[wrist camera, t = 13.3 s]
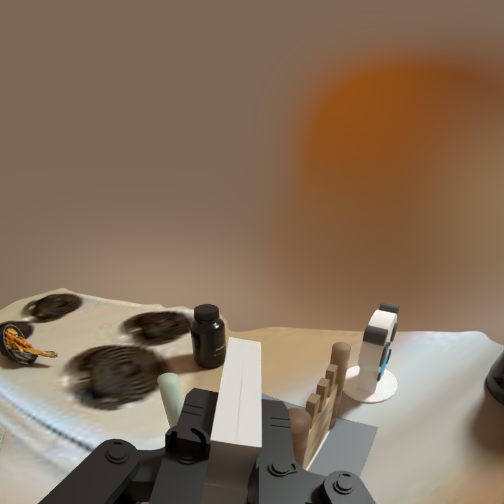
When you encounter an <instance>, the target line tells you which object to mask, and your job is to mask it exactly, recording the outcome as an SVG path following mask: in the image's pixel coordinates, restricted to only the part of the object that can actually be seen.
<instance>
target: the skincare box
mask: <svg viewBox="0 0 504 504" xmlns="http://www.w3.org/2000/svg"><path fill="white" fill-rule="evenodd" d="M4 434H5V431H4V429H3V428H2V426H1V425H0V449H1V445H2V441H3V438H4Z"/></svg>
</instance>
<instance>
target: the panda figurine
mask: <svg viewBox="0 0 504 504" xmlns="http://www.w3.org/2000/svg"><path fill="white" fill-rule="evenodd" d="M398 311H399V306H397V305H392V304H387V303H381V304H380V308H379V310H376V311H375V313H374V315H373V316H372V318H371V320H370V322H369V325H367V327H366V329H365V332H364V336H363V343H362V346H361V350H360V354H359V360H358V366H355V367H352V368H350V369H348V370H347V372H346V377H345V382H344V387H343V391H344V392H345V394H347V395H348V396H349V397H351V398H352V399H354V400H357V401H360V402H364V403H379V402H383V401H386V400H388V399H389V398H391V397H392V396H393V395H394V394H395V392H396V390H397V386H398V384H397V380H396V378H395V377H394V375H393V374H392V373H390V372H389V371H388V370H386V369H385V366H386V364H387V363H388V360H389V357H390V354H391V349H390V346H391V343H392V342H393V340H394V337H395V333H396V329H397V323H396V320H397V315H398Z"/></svg>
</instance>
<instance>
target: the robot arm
mask: <svg viewBox="0 0 504 504" xmlns="http://www.w3.org/2000/svg"><path fill="white" fill-rule="evenodd" d="M487 386H488V389H489V391H490V392H491V394H492V395H493V396H494V397H495V398H496V399H497V400H498V401H500V402H501V403H503V404H504V351H503V352H502V354H501V355H500V356H499V358H498V359H497V360H496V361H495V363H494V364H493V365H492V367H491V369H490V371H489V374H488V376H487ZM290 428H291V425H290V417H289V410H288V408H287V407H286V405H285V404H284V402H283V401H276V400H268V399H261V342H255V341H249V340H243V339H237V338H232V337H229V342H228V347H227V352H226V358H225V363H224V368H223V374H222V379H221V384H220V390H219V393H218V392H213V391H208V390H203V389H198V388H193V389H192V390H191V391H190V392H189V393H188V394H187V395H186V398H185V401H184V404H183V407H182V410H181V413H180V416H179V419H178V422H177V425H175V426H174V427H172V428H170V429H169V430H168V431H167V433H166V434H165V447H163V448H161V449H157V450H137V449H136V448H135V446H133V445H132V444H131V443H129V442H127V441H124V440H122V439H110V440H106V441H104V442H103V443H101V444H100V445H99V446H98V447H97V448H96V449H95V450H94V451H93V452H92V453H91V454H90V455H89V456H87V457H86V458H85V459H84V460H83V461H82V462H81V463H80V464H79V465H78V466H77V467H76V468H75V469H74V470H73V471H72V472H71V473H70V474H69V475H68V476H67V477H66V478H65V479H64V480H63V481H62V482H60V483H59V484H58V485H57V486H56V487H55V488H54V489H53V490H52V491H51V492H50V493H49V494H48V495H47V496H46V497H44V498H43V499H42V500H41V501H40V502H39V503H38V504H141V503H142V502H149V504H201V501H202V495H203V489H204V484H205V485H211V486H217V487H223V488H231V489H239V490H246V489H247V486H248V494H247V498H246V500H245V502H244V504H376V503H375V501H374V500H373V498H372V497H371V495H370V493H369V492H368V490H367V489H366V487H365V485H364V484H363V482H362V480H361V479H360V478H359V477H358V476H357V475H355V474H353V473H351V472H348V471H344V470H343V471H335V472H332V473H330V474H329V475H328V476H323V475H319V474H315V473H312V472H309V471H307V470H305V469H303V468H302V467H301V466H300V465H299V463H298V462H297V461H296V460H295V457H294V451H293V442H292V434H291V429H290Z"/></svg>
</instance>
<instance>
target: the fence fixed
mask: <svg viewBox="0 0 504 504" xmlns="http://www.w3.org/2000/svg"><path fill="white" fill-rule="evenodd" d="M350 350H351V346H350V345H349V344H347V343H344V342H337V343H335V344H333V347H332V354H331V361H330V365H329V367H328V368H327V370H326V376H325V378H321V380H320V381H319V383H318V384H317V391H316V394H314V393H312V394H311V395H310V397H309V398H308V400H307V404H306V411H305V410H303V409H299V408H289V409H288V410H289V417H290V425H291V428H290V429H291V434H292V442H293V451H294V457H295V460H296V461H297V462H298V463H299V465H300V466H301V467H302V468H303V469H305V470H306V468H307V466H308V465H309V463H310V462H311V460H312V458H313V456H314V455H315V453H316V451H317V450H318V448H319V446H320V444H321V443H322V441H323V439H324V437H325V435H326V434H327V432H328V430H329V429H332V428H333V427H334V426H335V423H336V418H337V414H338V410H339V406H340V401H341V396H342V392H343V387H344V382H345V377H346V372H347V367H348V361H349V356H350Z"/></svg>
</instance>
